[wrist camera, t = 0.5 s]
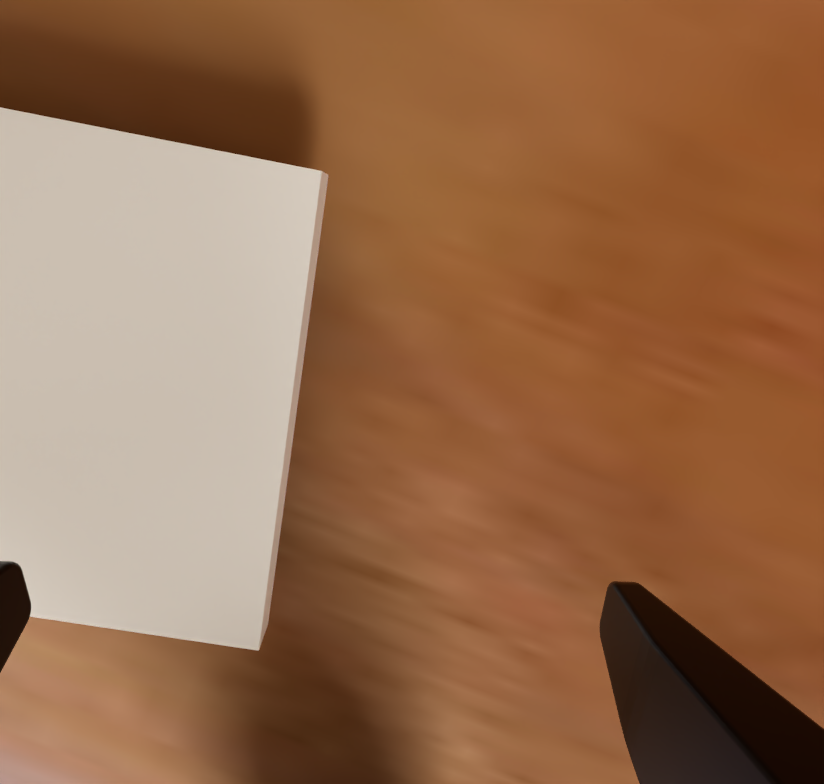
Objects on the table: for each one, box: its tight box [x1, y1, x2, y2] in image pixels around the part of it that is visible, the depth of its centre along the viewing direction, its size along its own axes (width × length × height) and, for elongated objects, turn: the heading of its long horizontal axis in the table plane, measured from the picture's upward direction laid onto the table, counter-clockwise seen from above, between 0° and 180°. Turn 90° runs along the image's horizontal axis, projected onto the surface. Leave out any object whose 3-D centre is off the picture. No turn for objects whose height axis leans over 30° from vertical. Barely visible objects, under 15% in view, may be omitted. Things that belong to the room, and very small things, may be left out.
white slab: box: [0, 107, 328, 651], centre depth 21 cm, size 18×15×4 cm
